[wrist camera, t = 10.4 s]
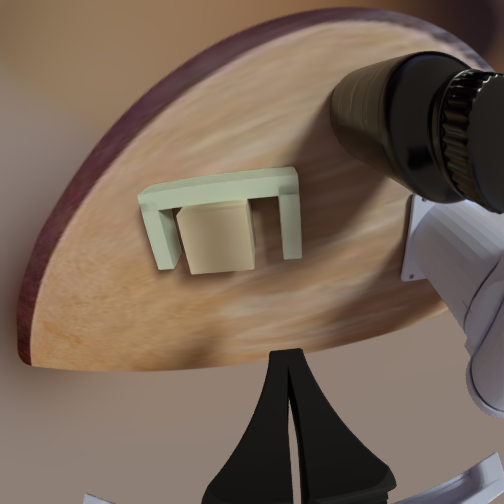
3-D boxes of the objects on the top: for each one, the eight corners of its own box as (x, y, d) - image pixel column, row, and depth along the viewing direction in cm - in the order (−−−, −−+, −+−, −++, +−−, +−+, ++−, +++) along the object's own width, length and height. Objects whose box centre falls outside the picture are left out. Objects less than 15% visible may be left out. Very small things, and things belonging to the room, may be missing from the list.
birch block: (248, 187, 18) (245, 207, 15) (255, 239, 20) (254, 269, 17) (192, 194, 19) (176, 215, 15) (203, 244, 21) (191, 274, 17)
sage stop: (293, 166, 17) (298, 174, 15) (297, 241, 20) (302, 258, 18) (150, 184, 18) (137, 195, 16) (168, 253, 21) (158, 269, 19)
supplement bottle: (368, 182, 18) (473, 280, 7) (306, 105, 15) (388, 104, 5) (432, 128, 15) (561, 177, 5) (378, 50, 13) (506, 16, 2)
